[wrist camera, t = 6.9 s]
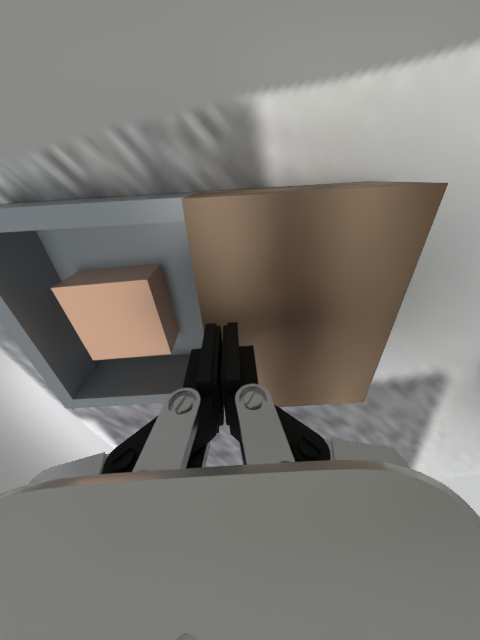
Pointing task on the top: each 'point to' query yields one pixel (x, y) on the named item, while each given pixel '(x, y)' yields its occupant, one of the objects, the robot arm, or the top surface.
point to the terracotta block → (120, 311)
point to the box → (90, 254)
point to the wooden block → (310, 277)
